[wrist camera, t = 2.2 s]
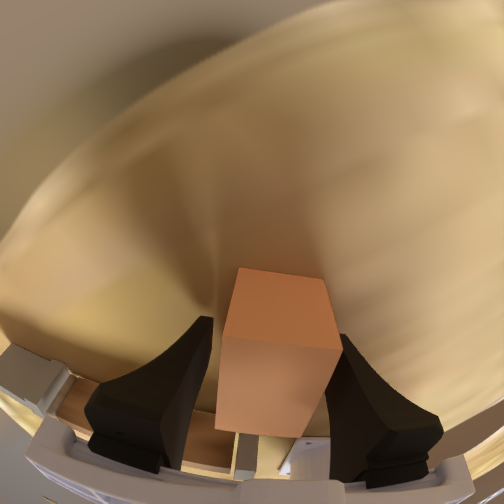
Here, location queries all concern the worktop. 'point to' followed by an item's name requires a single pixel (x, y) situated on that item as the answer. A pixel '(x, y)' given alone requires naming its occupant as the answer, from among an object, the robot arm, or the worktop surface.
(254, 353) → the terracotta rectangular block
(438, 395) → the worktop surface
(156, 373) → the robot arm
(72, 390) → the gate door
